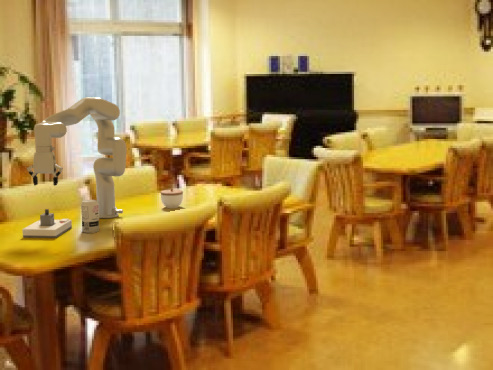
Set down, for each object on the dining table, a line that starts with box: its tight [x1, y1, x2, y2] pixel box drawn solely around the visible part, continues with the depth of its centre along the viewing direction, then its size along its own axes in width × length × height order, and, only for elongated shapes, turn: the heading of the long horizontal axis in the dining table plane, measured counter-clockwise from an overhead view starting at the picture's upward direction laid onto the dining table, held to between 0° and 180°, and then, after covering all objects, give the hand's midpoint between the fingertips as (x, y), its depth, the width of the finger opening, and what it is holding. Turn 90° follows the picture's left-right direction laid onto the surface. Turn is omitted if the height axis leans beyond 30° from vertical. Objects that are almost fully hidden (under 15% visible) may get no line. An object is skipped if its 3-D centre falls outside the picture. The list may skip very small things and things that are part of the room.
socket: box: [21, 218, 73, 239], centre depth 349 cm, size 16×22×5 cm
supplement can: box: [80, 199, 100, 234], centre depth 350 cm, size 8×8×15 cm
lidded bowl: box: [160, 187, 184, 209], centre depth 411 cm, size 13×13×11 cm
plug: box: [39, 208, 55, 226], centre depth 349 cm, size 5×5×10 cm
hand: (45, 185), depth 346 cm, fingers open, 9 cm apart
